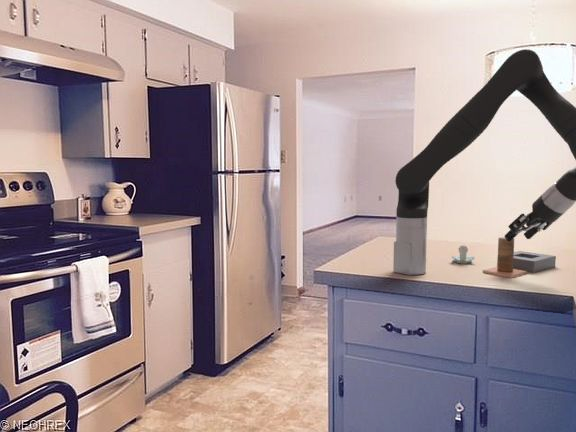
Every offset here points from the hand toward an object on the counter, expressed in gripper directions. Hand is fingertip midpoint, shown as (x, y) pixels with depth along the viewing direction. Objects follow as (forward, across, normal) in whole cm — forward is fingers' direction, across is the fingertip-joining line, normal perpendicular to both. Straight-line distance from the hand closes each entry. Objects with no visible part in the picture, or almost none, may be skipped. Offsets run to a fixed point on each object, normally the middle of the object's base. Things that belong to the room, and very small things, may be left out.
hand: (516, 237), depth 146 cm
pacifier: (+24, -2, -7) cm, 25 cm away
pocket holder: (+13, -14, +3) cm, 20 cm away
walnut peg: (+10, 0, +5) cm, 11 cm away
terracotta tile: (+11, 0, +6) cm, 12 cm away
